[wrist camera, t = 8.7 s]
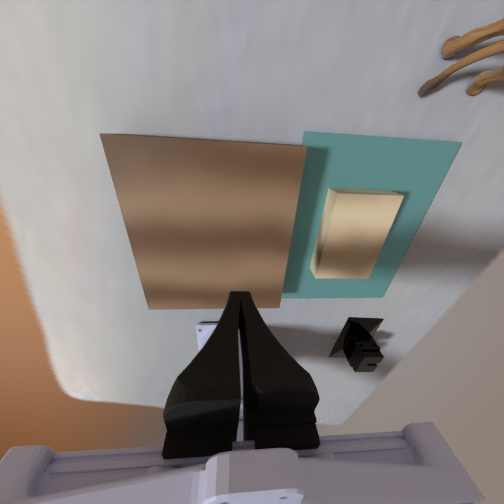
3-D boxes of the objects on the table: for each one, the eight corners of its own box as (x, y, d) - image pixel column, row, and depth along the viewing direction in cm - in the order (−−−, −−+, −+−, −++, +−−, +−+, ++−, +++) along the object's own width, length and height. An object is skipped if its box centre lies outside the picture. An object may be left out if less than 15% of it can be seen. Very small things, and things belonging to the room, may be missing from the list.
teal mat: (380, 295, 27) (382, 297, 26) (277, 296, 25) (278, 298, 25) (457, 142, 18) (462, 142, 17) (304, 131, 16) (305, 131, 16)
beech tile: (315, 278, 21) (309, 267, 23) (368, 278, 22) (358, 267, 24) (338, 193, 17) (328, 187, 19) (404, 195, 17) (389, 190, 19)
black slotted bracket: (357, 358, 35) (372, 387, 31) (318, 358, 34) (329, 388, 31) (390, 309, 29) (415, 337, 25) (344, 307, 28) (361, 336, 24)
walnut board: (274, 290, 25) (279, 308, 22) (158, 290, 24) (148, 309, 21) (296, 144, 17) (307, 146, 14) (122, 133, 16) (99, 133, 13)
